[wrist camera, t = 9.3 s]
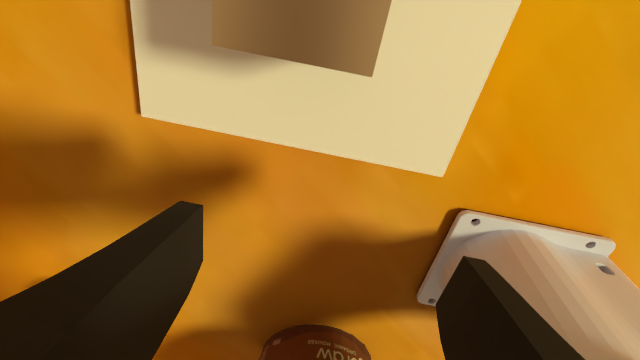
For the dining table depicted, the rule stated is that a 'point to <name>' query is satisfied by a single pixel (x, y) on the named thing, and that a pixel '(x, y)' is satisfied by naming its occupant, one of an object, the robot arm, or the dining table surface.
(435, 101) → the cream mat
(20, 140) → the dining table surface
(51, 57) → the dining table surface
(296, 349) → the food container
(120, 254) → the robot arm
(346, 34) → the walnut block
